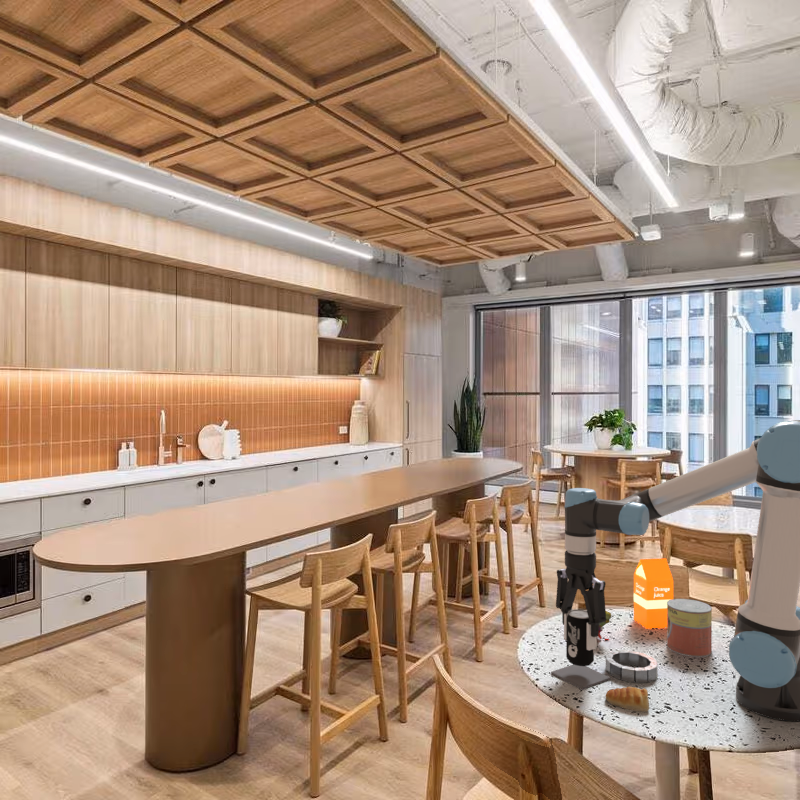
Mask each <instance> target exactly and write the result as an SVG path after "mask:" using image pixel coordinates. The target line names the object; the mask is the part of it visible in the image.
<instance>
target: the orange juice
mask: <svg viewBox="0 0 800 800" xmlns="http://www.w3.org/2000/svg"><path fill="white" fill-rule="evenodd" d="M671 599H674V578H673V574H672V572H671V569H670V565H669V562H668V559H667V558H665V557H664V558H641V559H639V561H638V564H637V566H636V568H635V571H634V573H633V621H634V620H635V621H634V622H636V621H637V622H638V623H637V622H636V623H637V624H639V623H640V624H641V625H642V627H643V626H644V627H645V628H644V627H643V628H644V629H646V630H653V629H652V628H658V629H666V628H665V627H667V601H669V600H671ZM640 624H639V625H640ZM641 625H640V626H641Z"/></svg>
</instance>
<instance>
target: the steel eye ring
mask: <svg viewBox="0 0 800 800" xmlns="http://www.w3.org/2000/svg"><path fill="white" fill-rule="evenodd" d="M627 665H631V666H627ZM632 666H637V667H632ZM605 671H606V673H608V674H609V675H610V676H612V677H614V678H615V679H618V680H621V681H624V682H629V683H635V684H638V683H640V684H641V683H642V684H643V683H644V684H645V683H646V684H648V683H651V682H653V681H656V680H657V678H658V661H657V660H656V659H655V658H654V657H652V656H650V655H648V654H646V653H643V652H640V651H633V650H630V649H629V650H628V649H625V650H622V649H620V650H613V651H611V652H610V651H609V652H607V654H606V655H605Z"/></svg>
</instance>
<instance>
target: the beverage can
mask: <svg viewBox="0 0 800 800" xmlns="http://www.w3.org/2000/svg"><path fill="white" fill-rule="evenodd" d="M588 622H590V621H589V617H588V613H587V610H586V609H585V610H584V609H573V610H570V611H569V612H568V616H567V626H566V640H565V641H566V644H565V645H566V646H565V647H566V649H565V650H566V651H565V652H566V659H567V660H568V662H569V663H570V664H571V665H573V664H574V665H577V666H587V667H589V666H590V665H592V664H593V663H594V660H595V649H592V650H587V623H588Z"/></svg>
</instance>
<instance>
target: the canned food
mask: <svg viewBox="0 0 800 800" xmlns="http://www.w3.org/2000/svg"><path fill="white" fill-rule="evenodd" d="M712 610H713V607H712V606H711V605H709V604H708V603H706V602H703V601H701V600H697V599H689V598H673V599H671V600H669V601H667V628H666V630H667V631H666V634H667V636H666V637H667V638H666V639H667V642H666V643H667V644H666V647H667V648H668V649H669V650H670V651H671V652H673V653H676V654H679V655H683V656H685V657H692V658H693V657H695V658H703V657H709V656H710V655H712V654H713V651H712V644H713V643H712V642H713V641H712V639H713V638H712V637H713V636H712V635H713V634H712V624H713V623H712V619H713V618H712V612H713V611H712Z"/></svg>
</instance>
